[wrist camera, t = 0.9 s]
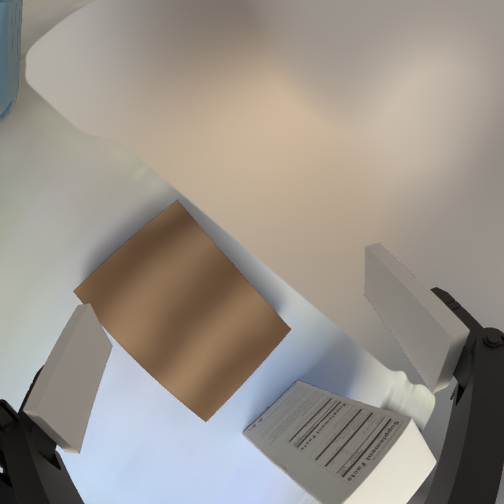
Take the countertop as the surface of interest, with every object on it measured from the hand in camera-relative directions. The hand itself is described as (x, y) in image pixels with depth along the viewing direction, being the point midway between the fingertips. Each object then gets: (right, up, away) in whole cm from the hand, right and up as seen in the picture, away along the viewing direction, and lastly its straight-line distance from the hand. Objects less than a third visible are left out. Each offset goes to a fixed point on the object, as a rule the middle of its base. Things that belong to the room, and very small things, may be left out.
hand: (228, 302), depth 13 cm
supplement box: (+6, -19, +18) cm, 26 cm away
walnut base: (-6, -4, +15) cm, 16 cm away
